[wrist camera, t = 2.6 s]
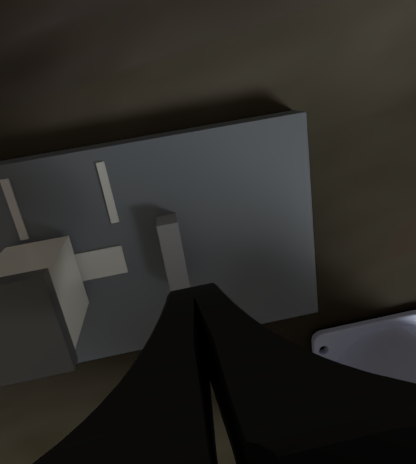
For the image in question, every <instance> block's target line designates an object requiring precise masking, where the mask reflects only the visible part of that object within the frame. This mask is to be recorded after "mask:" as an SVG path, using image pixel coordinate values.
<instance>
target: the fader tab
mask: <svg viewBox="0 0 416 464" xmlns="http://www.w3.org/2000/svg"><path fill="white" fill-rule="evenodd" d="M88 304H89V301H88V297H87V294H86V291H85V288H84V284H83V281H82V278H81V274H80V271H79V268H78V265H77V261H76V258H75V255H74V251H73V248H72V245H71V242H70V238H69V236H64V237H59V238H53V239H48V240H43V241H38V242H32V243H27V244H22V245H16V246H11V247H6V248H4V250H3V251H2V252H1V253H0V387H1V386H6V385H11V384H15V383H20V382H25V381H29V380H34V379H39V378H44V377H48V376H53V375H58V374H62V373H67V372H72V371H75V369H76V365H77V362H78V356H77V353H76V350H75V348H76V345H77V341H78V338H79V335H80V331H81V328H82V325H83V321H84V318H85V314H86V311H87V308H88Z"/></svg>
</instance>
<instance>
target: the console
mask: <svg viewBox="0 0 416 464" xmlns="http://www.w3.org/2000/svg"><path fill="white" fill-rule="evenodd" d="M64 236H69V238H70V242H71V245H72V248H73V251H74V255H75V258H76V261H77V265H78V268H79V271H80V274H81V278H82V281H83V284H84V288H85V291H86V294H87V297H88V301H89V304H88V308H87V311H86V314H85V318H84V321H83V325H82V328H81V331H80V335H79V338H78V341H77V345H76V348H75V350H76V353H77V356H78V362H77V363H81V362H85V361H90V360H95V359H99V358H104V357H109V356H113V355H118V354H123V353H128V352H132V351H137V350H142V349H143V347H144V346H145V344H146V342H147V341H148V339H149V337H150V335H151V333H152V332H153V329H154V327H155V325H156V323H157V321H158V319H159V317H160V315H161V312H162V310H163V307H164V305H165V302H166V299H167V295H168V294H169V293H170V291H174V290H179V289H184V288H189V287H194V286H199V285H204V284H209V283H214V284H216V285H217V286H218V287H219V288H220V289H221V290H222V291H223V292H224V293H225V294H226V295H227V296H228V297H229V298H230V299H231V300H232V301H233V302H234V303H235V304H236V305H237V306H239V307H240V308H241V309H242V310H243V311H245V312H246V313H247V314H248V315H249V316H251V317H252V318H253V319H255V320H256V321H257V322H259V323H260V324H264V323H269V322H274V321H278V320H283V319H288V318H293V317H297V316H302V315H307V314H311V313H316V312H318V299H317V282H316V266H315V250H314V234H313V217H312V201H311V185H310V168H309V152H308V136H307V120H306V112H303V111H296V110H290V111H285V112H279V113H273V114H267V115H262V116H256V117H250V118H244V119H239V120H233V121H227V122H221V123H216V124H210V125H204V126H198V127H193V128H187V129H181V130H175V131H169V132H164V133H158V134H152V135H146V136H141V137H135V138H129V139H123V140H118V141H112V142H106V143H100V144H95V145H89V146H83V147H77V148H72V149H66V150H60V151H54V152H49V153H43V154H37V155H31V156H26V157H20V158H14V159H8V160H3V161H0V253H1V252H2V251H3V250H4V248H6V247H11V246H16V245H22V244H27V243H32V242H38V241H43V240H48V239H53V238H59V237H64Z"/></svg>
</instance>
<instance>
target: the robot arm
mask: <svg viewBox="0 0 416 464" xmlns="http://www.w3.org/2000/svg"><path fill="white" fill-rule="evenodd" d="M311 343H312V352H310V351H308V350H306V349H303V348H301V347H299V346H297V345H295V344H293V343H291V342H289V341H288V340H286V339H284V338H282V337H280V336H279V335H277V334H275V333H273V332H272V331H270V330H269V329H267V328H266V327H264V326H263V325H262V324H260V323H259V322H257V321H256V320H255V319H253V318H252V317H251V316H249V315H248V314H247V313H246V312H245V311H243V310H242V309H241V308H240V307H239V306H237V305H236V304H235V303H234V302H233V301H232V300H231V299H230V298H229V297H228V296H227V295H226V294H225V293H224V292H223V291H222V290H221V289H220V288H219V287H218V286H217V285H216V284H214V283H209V284H204V285H199V286H194V287H189V288H184V289H179V290H174V291H170V293H169V294H168V295H167V299H166V302H165V305H164V307H163V310H162V312H161V315H160V317H159V319H158V321H157V323H156V325H155V327H154V329H153V332H152V333H151V335H150V337H149V339H148V341H147V342H146V344H145V346H144V347H143V349H142V351H141V353H140V354H139V356H138V357H137V359H136V360H135V362H134V363H133V365H132V366H131V368H130V369H129V371H128V372H127V373H126V375H125V376H124V377H123V379H122V380H121V381H120V383H119V384H118V385H117V386H116V387H115V388H114V389H113V391H112V392H111V393H110V394H109V395H108V396H107V397H106V398H105V399H104V401H103V402H102V403H101V404H100V405H99V406H98V407H97V408H96V409H95V410H94V411H93V412H92V413H91V414H90V415H89V416H88V417H87V418H86V419H85V420H84V421H83V422H82V423H81V424H80V425H79V426H77V427H76V428H75V429H74V430H73V431H72V432H71V433H70V434H69V435H67V436H66V437H65V438H64V439H63V440H62V441H60V442H59V443H58V444H57V445H56V446H55V447H53V448H52V449H51V450H49V451H48V452H47V453H46V454H44V455H43V456H42V457H40V458H39V459H38V460H37V461H35V462H34V463H33V464H218V461H217V453H216V443H215V432H214V421H213V410H212V399H211V388H210V381H211V384H212V387H213V390H214V393H215V397H216V400H217V403H218V406H219V409H220V412H221V416H222V419H223V422H224V425H225V428H226V431H227V434H228V438H229V441H230V444H231V447H232V450H233V454H234V458H235V461H236V464H416V310H412V311H407V312H402V313H398V314H393V315H388V316H384V317H379V318H375V319H370V320H365V321H361V322H356V323H351V324H347V325H342V326H337V327H333V328H328V329H324V330H319V331H317V332H316V333H314V334H313V336H312V339H311ZM323 346H325V347H324V349H322V350H319V349H320V348H321V347H323Z"/></svg>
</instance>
